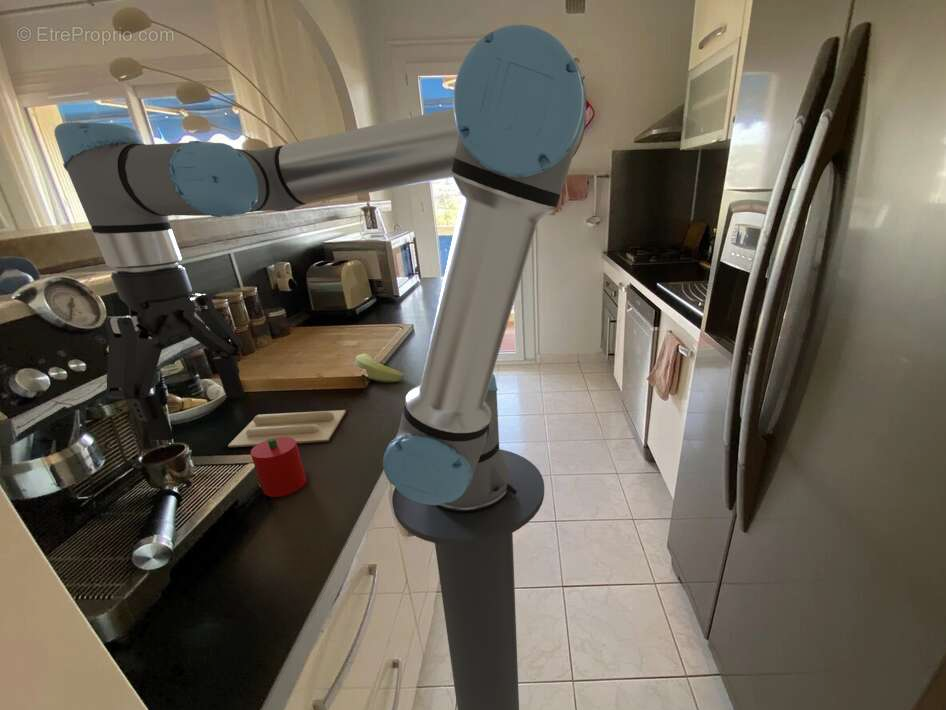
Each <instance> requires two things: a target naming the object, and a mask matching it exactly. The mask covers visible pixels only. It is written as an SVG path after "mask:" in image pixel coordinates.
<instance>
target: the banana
mask: <svg viewBox="0 0 946 710" xmlns="http://www.w3.org/2000/svg"><path fill="white" fill-rule="evenodd" d="M371 357H372V356H371V355H370V354H368V353H366V352H365V353H360V354H358V355H356V357H355V358H354V365H355V364H356V366H358V367H360V368H363V369H366V371H367V374H368V378H367V379H369V380H371V381H375V382H379V383H399V382H403V381H404V379H405V375H404V374H403V373H401V372H400V371H399V370H396V369H394V368H392V367H389V366H386V365H384V364H382V363H380V362H376V361H374V360H372V358H373V357H372V358H371Z"/></svg>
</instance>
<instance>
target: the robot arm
mask: <svg viewBox="0 0 946 710" xmlns="http://www.w3.org/2000/svg"><path fill="white" fill-rule="evenodd" d="M583 78H584V77H583V75H582V72H581V69H580V67H579V65H578V63H577V62H576V59H575V58H574V57H573V55H572V54H571V53H570V52H569V50H568V49H567V48H566V46H565V45H564V44H563V43H562V42H561V41H560V40H559V39H558V38H557V37H555V35H553V34H551V33H549V32H548V31H546V30H545V29H542V28H539V27H536V26H533V25H529V24H509V25H504V26H502V27H499V28H496V29H494V30H493V31H491V32H488V33H487V34H486V35H485V36H483V37H481V38H480V39H479V40H478V41H476V43H475V44H474V45H473V46H472V47H471V49H470V50H469V51H468V52H467V54H466V55H465V57H464V58H463V61H462V63H461V65H460V67H459V69H458V71H457V74H456V79H455V83H454V87H453V97H452V101H453V103H452V104H453V105H452V106H453V107H452V108H448V109H443V110H439V111H435V112H429V113H425V114H420V115H415V116H411V117H410V116H409V117H405V118H402V119H397V120H393V121H388V122H383V123H378V124H374V125H368V126H364V127H360V128H355V129H350V130H346V131H341V132H337V133H332V134H331V133H330V134H328V135H327V134H326V135H323V136H318V137H314V138H307V139H304V140H299V141H295V142H290V143H286V144H283V145H277V146H272V147H267V148H263V149H255V150H254V149H251V150H250V149H243V148H241V149H240V148H235V147H233V146H232V145H230V144H226V143H223V142H213V141H202V140H190V141H188V142H172V143H153V144H146V143H144V142H143V141H142V138H141V135H140V133H139V132H138V131H137V130H136V129H135V128H133V127H131V126H127V125H123V124H115V123H107V122H106V123H105V122H104V123H103V122H80V121H79V122H77V121H75V122H74V121H73V122H72V121H71V122H70V121H69V122H61V123H59V124H57V126H55V128H54V131H53V132H54V133H53V134H54V138H55V140H56V144H57V146H58V149H59V152H60V155H61V159H62V162H63V163H62V165H63V168H64V169H65V171H66V172H67V173H68V176H69V179H70V181H71V183H72V185H73V188H74V191H75V192H76V195H77V198H78V200H79V202H80V204H81V206H82V207H81V208H82V209H83V211H84V214H85V216H86V219H87V221H88V224H89V226H90V229H91V230H92V233H93V235H94V238H95V240H96V243H97V245H98V248H99V250H100V252H101V255H102V257H103V260H104V262H105V265H106V266H107V267H109V268H111V269H114V270H113V271H112V272H111V274H110V277H111V280H112V283H113V285H114V287H115V290H116V292H117V294H118V297H119V299H120V300H121V301H122V302H124V303H125V304H126V306H127V307H128V312H129V313H128V315H125V316H124V315H123V316H106V317H105V318H104V320H103V321H104V325H105V328H106V331H107V334H108V347H107V367H106V383H107V388H106V387H105V396H106V397H107V398H108V399H111V400H128V402H129V404H130V406H131V409H132V411H133V413H134V415H135V417H136V419H137V420H138V421H139V422H143V423H144V425H145V428H146V430H147V432H148V434H149V437H150V439H151V440H152V441H169V442H171V441H173V439H175V438H176V437H175V435H174V432H173V430H172V428H171V425H170V422H169V420H168V417H167V416H166V412H165V411H164V407H163V405H162V404H161V401H160V398H159V396H158V394H157V393H150V391H151V388H152V385H153V382H154V378H155V374H156V371H157V367H158V364H159V361H160V357H161V354H162V350H163V349H165V348H166V347H167V346H168V342H172V341H175V340H177V339H178V338H179V337H185V336H186V337H187V336H189V337H191V338H193V339H194V340H195V341H197V342H198V343H200V344H201V345H202V346H204V347H206V348H207V349H208V350H210V351H211V352H213V353H214V354H215V355H218V356H216V357H214V358H213V361H214V362H213V363H214V365H215V367H216V370H217V373H218V377H219V379H220V382H221V385H222V388H223V391H224V394H225V397H226V398H227V397H228V398H243V397H245V396H246V394H245V393H246V392H245V390H244V387H243V384H242V380H241V377H240V367H239V365H238V362H237V359H236V357H240V356H241V352H242V351H241V349H242V348H243V346H244V343H243V341H242V340H241V339H240V337H239V336H238V334H237V333H236V332H235V331H234V330H233V329H232V327H231V326H230V324H228V322H227V321H226V320H225V318H224V317H223V316H222V315H221V313H220V312H219V311H218V309H217V308H216V306H215V304H214V302H213V299H212V297H211V296H210V295H209V294H208V293H207V294H205V293H202V294H201V293H193V288H192V284H191V282H190V279H189V275H188V273H187V270H186V268H185V267H183V266H182V265H180V264H179V263H181V262H182V261H183V258H182V257H183V256H182V255H181V252H180V249H179V246H178V243H177V240H176V237H175V234H174V231H173V228H172V226H171V223H170V220H169V217H171V216H186V217H187V216H189V217H191V216H194V217H204V216H206V217H207V216H208V217H209V216H211V217H215V218H222V217H233V216H236V215H237V216H239V215H245V214H247V213H255V212H273V211H275V212H285V211H292V210H294V209H297V208H300V207H302V206H305V205H310V204H315V203H320V202H326V201H332V200H338V199H343V198H347V197H353V196H358V195H363V194H368V193H369V194H371V193H374V192H375V193H376V192H380V191H385V190H391V189H396V188H401V187H406V186H412V185H418V184H423V183H430V182H434V181H441V180H446V179H452V180H453V181H454V183H455V184H456V187H457V188H458V190H459V193H460V196H461V197H460V202H459V207H458V212H457V217H456V222H455V225H454V230H453V234H452V240H451V244H450V249H449V252H448V256H447V257H448V258H447V263H446V267H445V271H444V276H443V281H442V284H441V290H440V294H439V299H438V302H437V307H436V313H435V317H434V321H433V328H432V330H431V336H430V341H429V345H428V350H427V354H426V358H425V363H424V367H423V368H424V369H423V372H422V377H421V382H420V384H419V385H417V386H415V387H413V388H412V389H410V390H409V391H408V392H407V394H406V396H405V399H404V404H403V409H402V413H401V417H400V423H399V428H398V431H397V434H396V436H395V437H394V438H393V439H392V440H390V443H388V446H387V447H386V449H385V453H384V454H383V457H382V468H383V472H384V474H385V477H386V478H387V480H388V482H389V483H390V484H391V485H392V486H394V488H395V487H396V489H397V491H399V492H400V493H401V494H402V495H404V496H406V497H407V498H409V499H411V500H413V501H416V502H419V503H423V504H427V505H435V506H437V507H438V508H440V509H442V510H445V511H448V512H453V513H474V512H479V511H483V510H486V509H489V508H491V507H493V506H495V505H497V504H498V503H500V502H501V501H502V500H503V499H504V498H505V497H506V496H507V495H508V493H509V491H510V492H511V493H513V494H514V495H515V494H516V493H517V490H515V489H514V488H513V487H512V486H511V477H510V472H509V469H508V467H507V465H506V462H505V460H504V458H503V456H502V453H501V451H500V449H501V448H500V435H499V434H500V433H499V413H498V412H499V411H498V410H499V409H498V392H497V391H499V389H498V387H497V381H496V377H495V374H494V372H495V368H496V364H497V362H498V361H497V360H498V358H499V354H500V351H501V347H502V343H503V340H504V337H505V333H506V330H507V328H508V324H509V320H510V316H511V314H512V310H513V306H514V303H515V301H516V297H517V293H518V290H519V286H520V284H521V280H522V276H523V274H524V270H525V266H526V263H527V260H528V258H529V257H528V256H529V253H530V251H531V246H532V243H533V240H534V236H535V233H536V229H537V227H538V223H539V222H540V220H541V219H543V218H545V217H547V216H548V215H550V214H552V213H553V212H555V211H556V210H557V208H558V205H559V202H560V199H561V195H562V192H563V189H564V186H565V184H566V180H567V178H568V173H569V170H570V167H571V163H572V161H573V158H574V157H575V155H576V154H577V152H578V151H579V148H580V147H581V144H582V142H583V139H584V136H585V135H584V134H585V131H586V121H587V120H586V119H587V118H586V115H587V113H586V112H587V92H586V91H587V90H586V85H585V80H584V79H583ZM195 314H196V315H195ZM196 316H198V318H197V317H196ZM149 337H150V338H149Z"/></svg>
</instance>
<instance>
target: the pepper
mask: <svg viewBox="0 0 946 710" xmlns="http://www.w3.org/2000/svg"><path fill="white" fill-rule="evenodd" d="M252 447H253V448H251V450H250V456H251V460H252V463H253V465H254V467H256V468H255V472H256V475H257V477H258V481H259V483H260V486H261V490H262V492H263V494H264V495H265V496H267V497H271V498H279V497H280V498H281V497H285V496H288V495H292V494H293V493H296V492H298V491H299V490H301V489H302V488H303V487H304V486H305V485H306V483H307V476H306V472H305V469H304V465H303V462H302V458H301V454H300V451H299V447H298V443H296V440H295V439H293V438H290V437H277V438H272V439H269V440H266V441H263V442H261V443H259V444H257V445H256V446H252Z"/></svg>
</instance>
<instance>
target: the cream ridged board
mask: <svg viewBox="0 0 946 710" xmlns="http://www.w3.org/2000/svg"><path fill="white" fill-rule="evenodd" d="M346 413H347V410H346V409H339V410H337V409H336V410H320V411H319V410H318V411H301V412H284V413H283V412H281V413H280V412H279V413H266V414H265V413H263V414H257V415H255V416H254V417H253V419H252V420H251V421H250V422H249V423H248V424H247V425H246V426H245V427H244V428H243V429H242V430H241V431H240V432H239V433H238V434H237V435H236V436H235V437H234V439H233V440H231V442H230V443H229V444H228V445H227V447H228V448H240V447H242V448H243V447H255V446H256V445H257V444H259V443H261V442H263V441H266V440H269V439H272V438H277V437H290V438H293V439H295V440H296V443H297V444H309V443H310V444H311V443H326V442H329V441H330V439H331V438H332V436H333V434H334V433H335V431H336V430H337V428H338V426H339V424H340V423H341V421H342V419H343V418H344V416H345V414H346Z"/></svg>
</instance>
